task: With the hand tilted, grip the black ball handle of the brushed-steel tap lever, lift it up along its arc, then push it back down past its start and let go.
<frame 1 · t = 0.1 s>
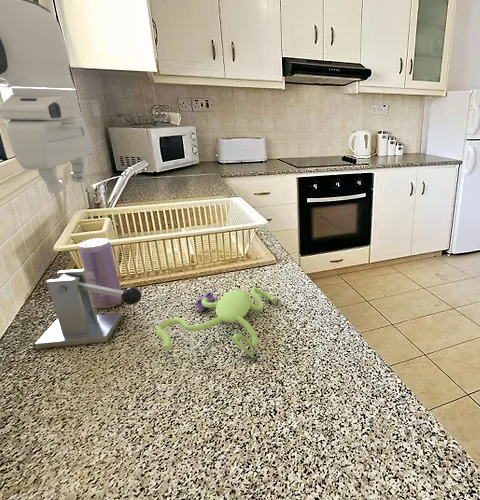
hand: (69, 186, 69), 29 cm above the countertop, tool pointing down, fingers open, 8 cm apart
figurine: (225, 328, 78), on the countertop
beverage can: (108, 303, 87), on the countertop
faucet lever: (102, 290, 73), point 9 cm above the countertop, hinge at -20.0°
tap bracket: (82, 332, 76), on the countertop
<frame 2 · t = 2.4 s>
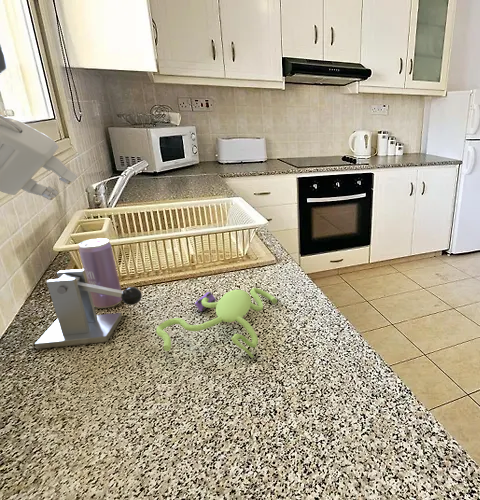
hand: (64, 188, 68), 29 cm above the countertop, tool tilted 45°, fingers open, 8 cm apart
nothing on the countertop moved.
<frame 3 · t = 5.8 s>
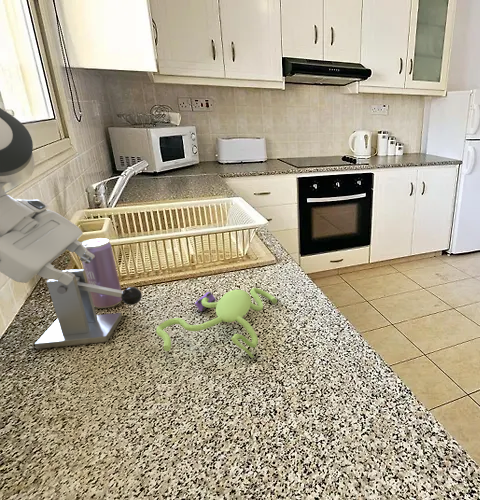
hand: (82, 269, 72), 13 cm above the countertop, tool tilted 45°, fingers open, 8 cm apart
nothing on the countertop moved.
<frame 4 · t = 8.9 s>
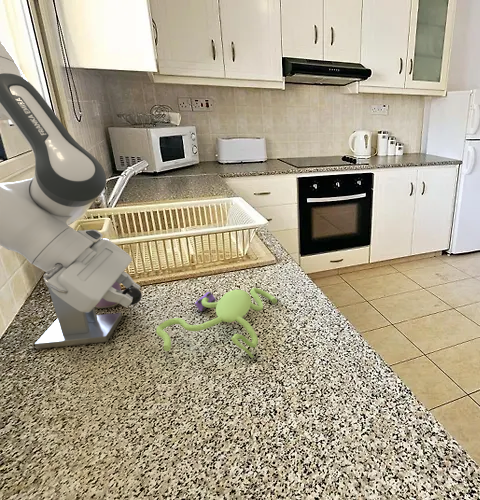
hand: (134, 296, 76), 7 cm above the countertop, tool tilted 45°, fingers closed on faucet lever, 3 cm apart
faucet lever: (102, 290, 73), point 9 cm above the countertop, hinge at -20.0°, touching gripper
everything else where it was.
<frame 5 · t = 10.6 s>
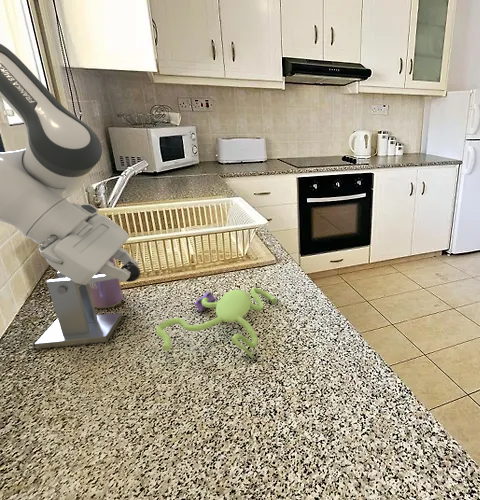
hand: (132, 272, 74), 12 cm above the countertop, tool tilted 45°, fingers closed on faucet lever, 3 cm apart
faucet lever: (100, 277, 73), point 12 cm above the countertop, hinge at 7.1°, touching gripper
everything else where it was.
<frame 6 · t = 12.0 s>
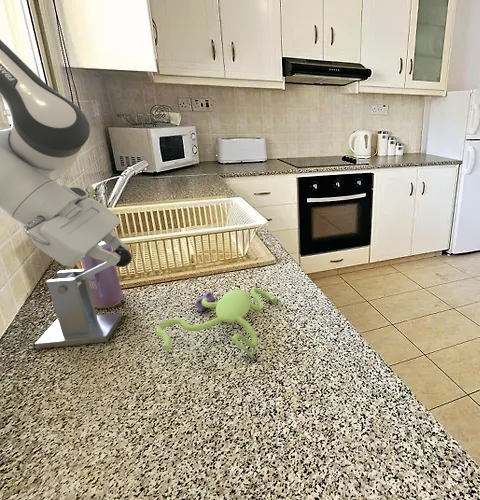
hand: (122, 256, 72), 16 cm above the countertop, tool tilted 45°, fingers closed on faucet lever, 3 cm apart
faucet lever: (95, 270, 72), point 13 cm above the countertop, hinge at 25.1°, touching gripper
everything else where it was.
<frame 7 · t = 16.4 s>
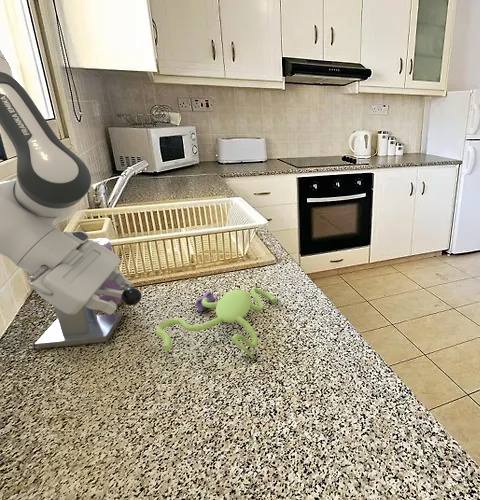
hand: (123, 298, 75), 7 cm above the countertop, tool tilted 45°, fingers open, 8 cm apart
faucet lever: (101, 290, 73), point 9 cm above the countertop, hinge at -20.6°
everything else where it was.
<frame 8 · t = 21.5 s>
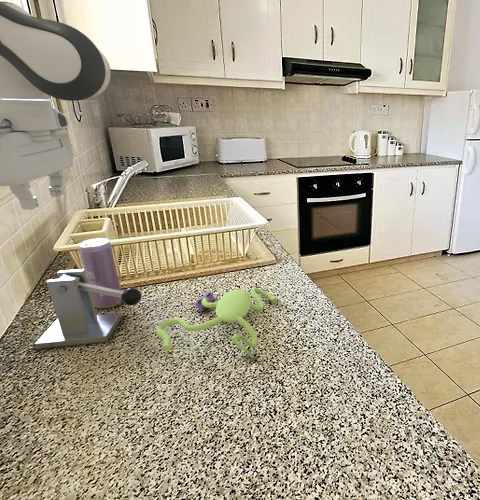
hand: (45, 201, 66), 27 cm above the countertop, tool pointing down, fingers open, 8 cm apart
nothing on the countertop moved.
at the end: faucet lever reached +26° during the clip, -21° at the end; faucet lever at -21° (first picture: -20°) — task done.
